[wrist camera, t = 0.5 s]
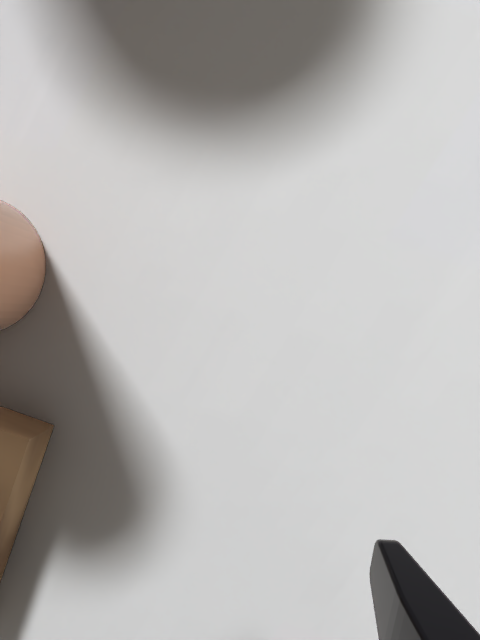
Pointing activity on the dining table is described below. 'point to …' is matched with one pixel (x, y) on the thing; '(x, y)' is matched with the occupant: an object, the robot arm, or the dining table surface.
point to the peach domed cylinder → (18, 265)
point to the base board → (18, 471)
